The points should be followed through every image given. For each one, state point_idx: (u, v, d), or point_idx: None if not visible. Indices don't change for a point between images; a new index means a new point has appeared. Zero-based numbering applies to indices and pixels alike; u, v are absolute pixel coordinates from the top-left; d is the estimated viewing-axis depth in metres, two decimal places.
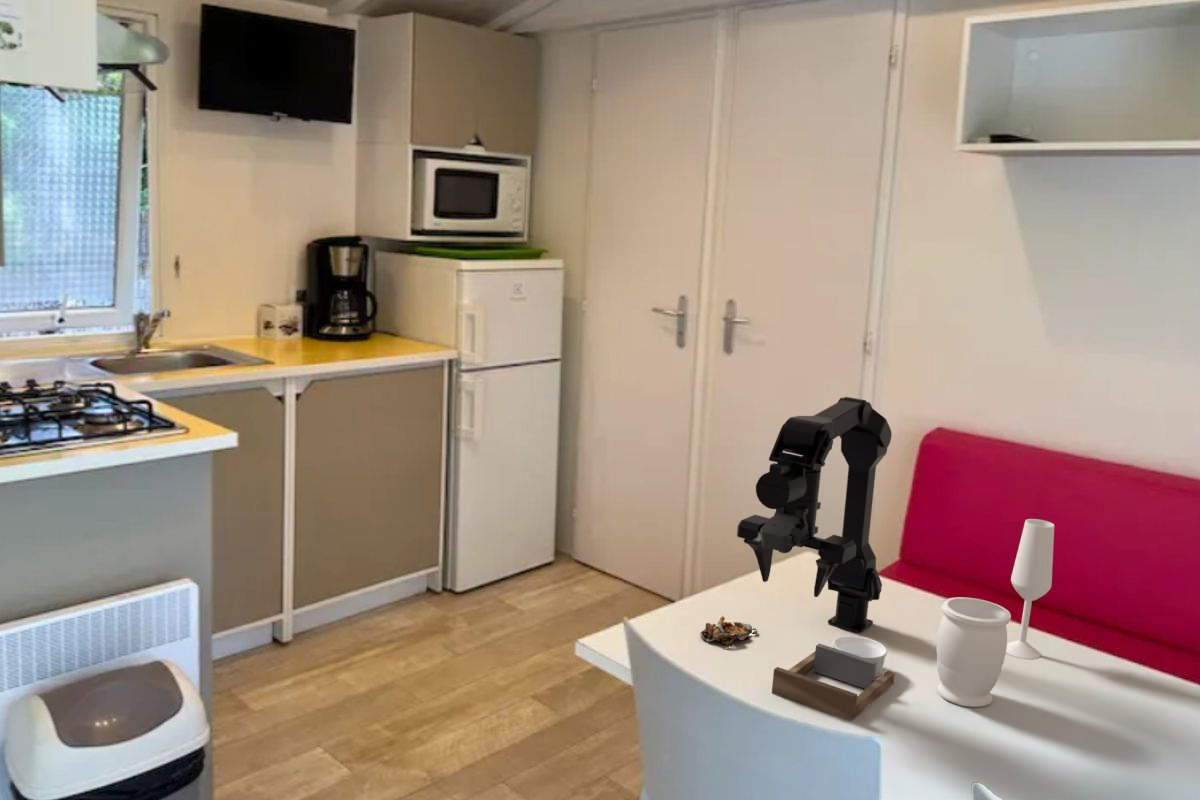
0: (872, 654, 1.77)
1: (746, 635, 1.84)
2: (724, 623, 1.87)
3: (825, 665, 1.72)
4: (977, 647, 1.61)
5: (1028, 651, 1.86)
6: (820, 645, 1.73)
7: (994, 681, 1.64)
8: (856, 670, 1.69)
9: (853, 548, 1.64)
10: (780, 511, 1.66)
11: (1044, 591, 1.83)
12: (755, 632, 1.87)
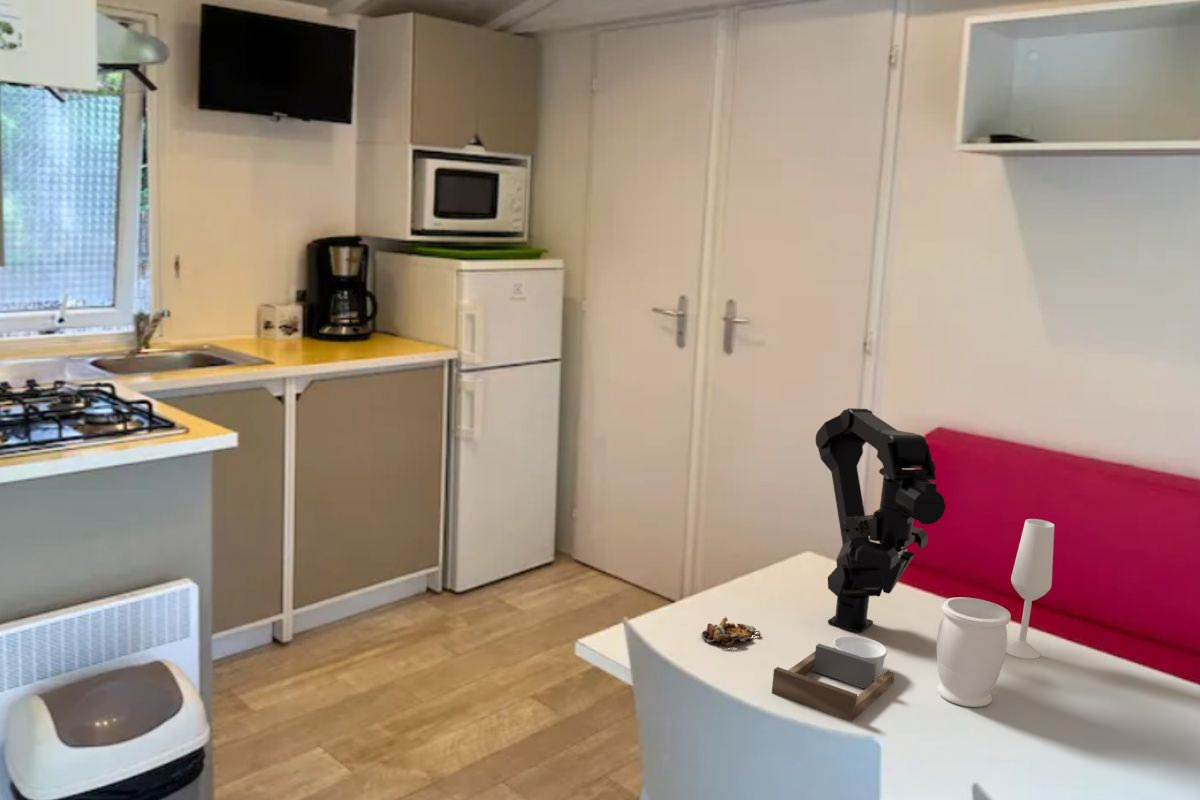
0: (872, 655, 1.77)
1: (748, 637, 1.84)
2: (727, 624, 1.87)
3: (825, 665, 1.72)
4: (977, 647, 1.61)
5: (1028, 651, 1.86)
6: (820, 645, 1.73)
7: (994, 681, 1.64)
8: (856, 670, 1.69)
9: (879, 557, 1.72)
10: None
11: (1044, 591, 1.83)
12: (758, 634, 1.86)
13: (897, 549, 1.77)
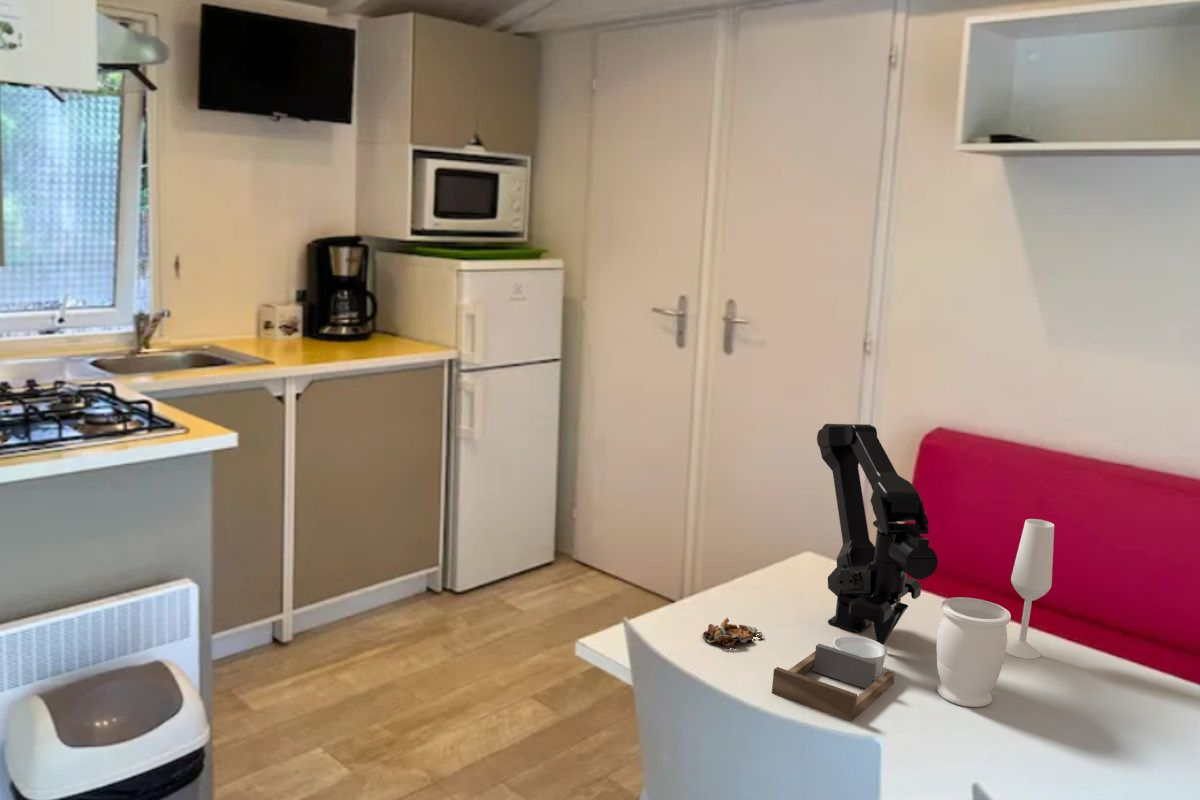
0: (872, 654, 1.77)
1: (749, 638, 1.83)
2: (728, 625, 1.86)
3: (825, 665, 1.72)
4: (977, 647, 1.61)
5: (1028, 651, 1.86)
6: (820, 645, 1.73)
7: (994, 681, 1.64)
8: (856, 670, 1.69)
9: (873, 612, 1.74)
10: None
11: (1044, 591, 1.83)
12: (759, 636, 1.86)
13: (890, 602, 1.79)
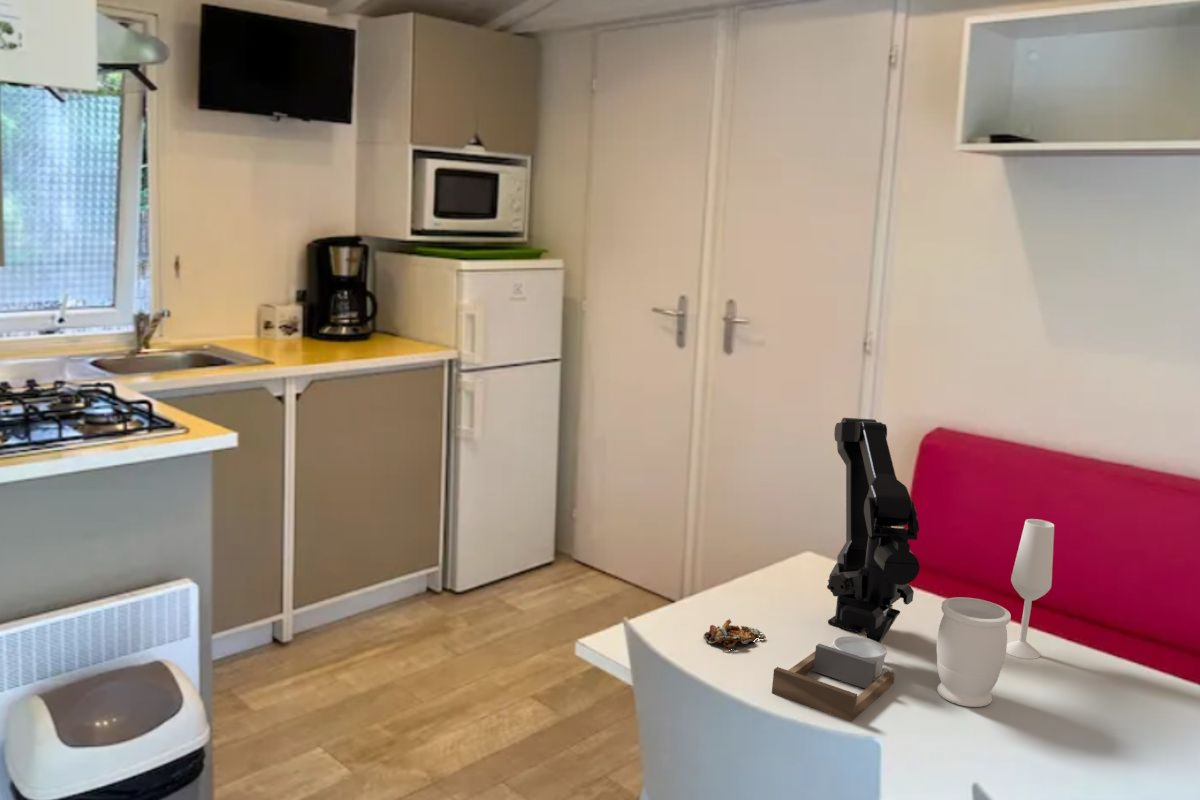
0: (872, 654, 1.77)
1: (750, 639, 1.83)
2: (730, 626, 1.86)
3: (825, 665, 1.72)
4: (977, 647, 1.61)
5: (1028, 651, 1.86)
6: (820, 645, 1.73)
7: (994, 681, 1.64)
8: (856, 670, 1.69)
9: (864, 618, 1.70)
10: None
11: (1044, 591, 1.83)
12: (761, 637, 1.85)
13: (882, 607, 1.76)
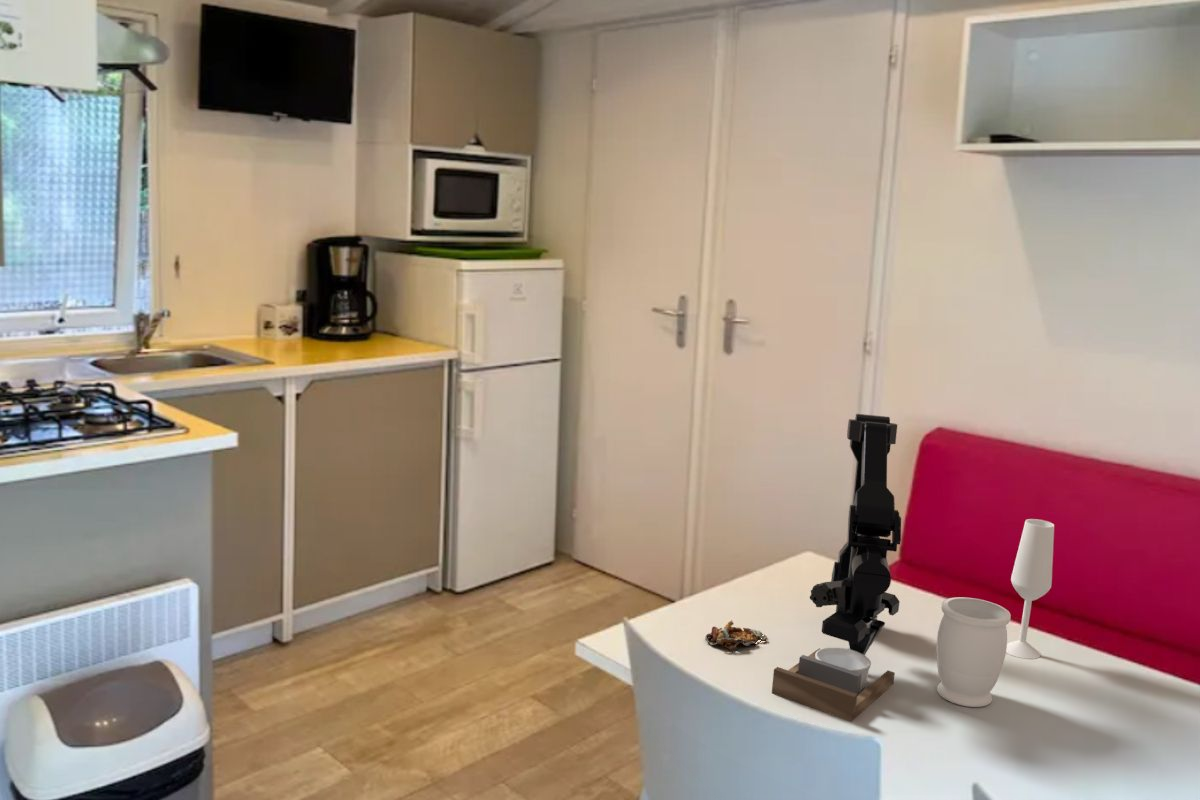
0: (855, 666, 1.72)
1: (752, 641, 1.82)
2: (732, 628, 1.85)
3: (809, 677, 1.67)
4: (977, 647, 1.61)
5: (1028, 651, 1.86)
6: (804, 656, 1.68)
7: (994, 681, 1.64)
8: (840, 682, 1.64)
9: (846, 631, 1.65)
10: None
11: (1044, 591, 1.83)
12: (764, 639, 1.84)
13: (866, 619, 1.71)
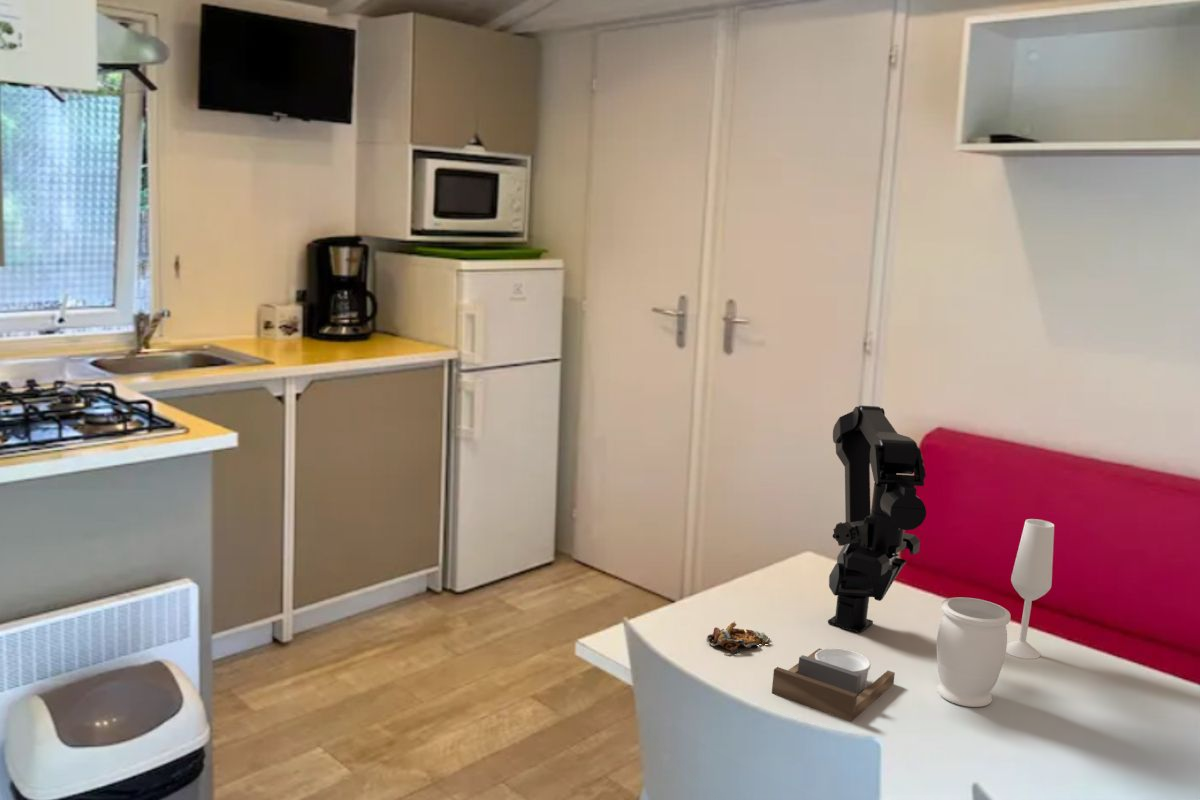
0: (855, 667, 1.72)
1: (754, 643, 1.81)
2: (735, 629, 1.85)
3: None
4: (977, 647, 1.61)
5: (1028, 651, 1.86)
6: (803, 657, 1.68)
7: (994, 681, 1.64)
8: (840, 683, 1.64)
9: (870, 564, 1.69)
10: None
11: (1044, 591, 1.83)
12: (766, 641, 1.83)
13: (888, 556, 1.74)
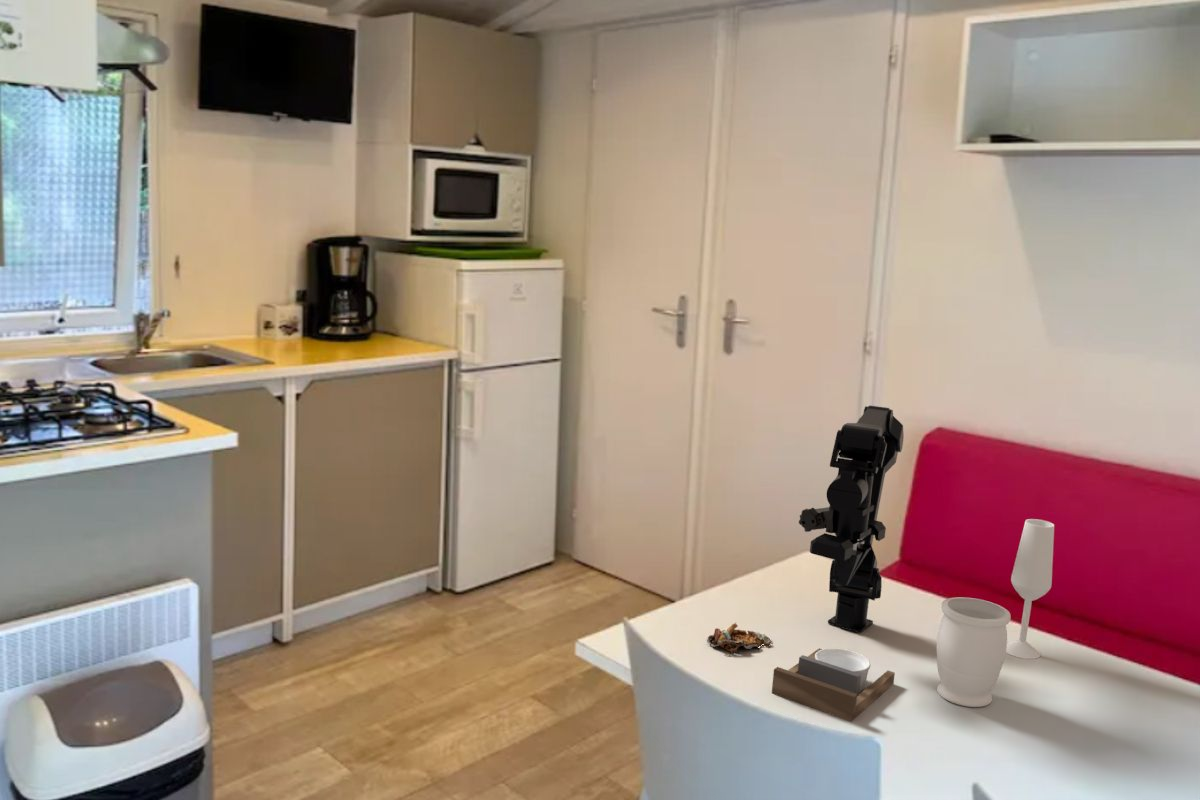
0: (855, 667, 1.72)
1: (754, 644, 1.81)
2: (736, 630, 1.84)
3: None
4: (977, 647, 1.61)
5: (1028, 651, 1.86)
6: (803, 657, 1.68)
7: (994, 681, 1.64)
8: (840, 683, 1.64)
9: (833, 549, 1.71)
10: None
11: (1044, 591, 1.83)
12: (767, 643, 1.83)
13: (853, 541, 1.77)
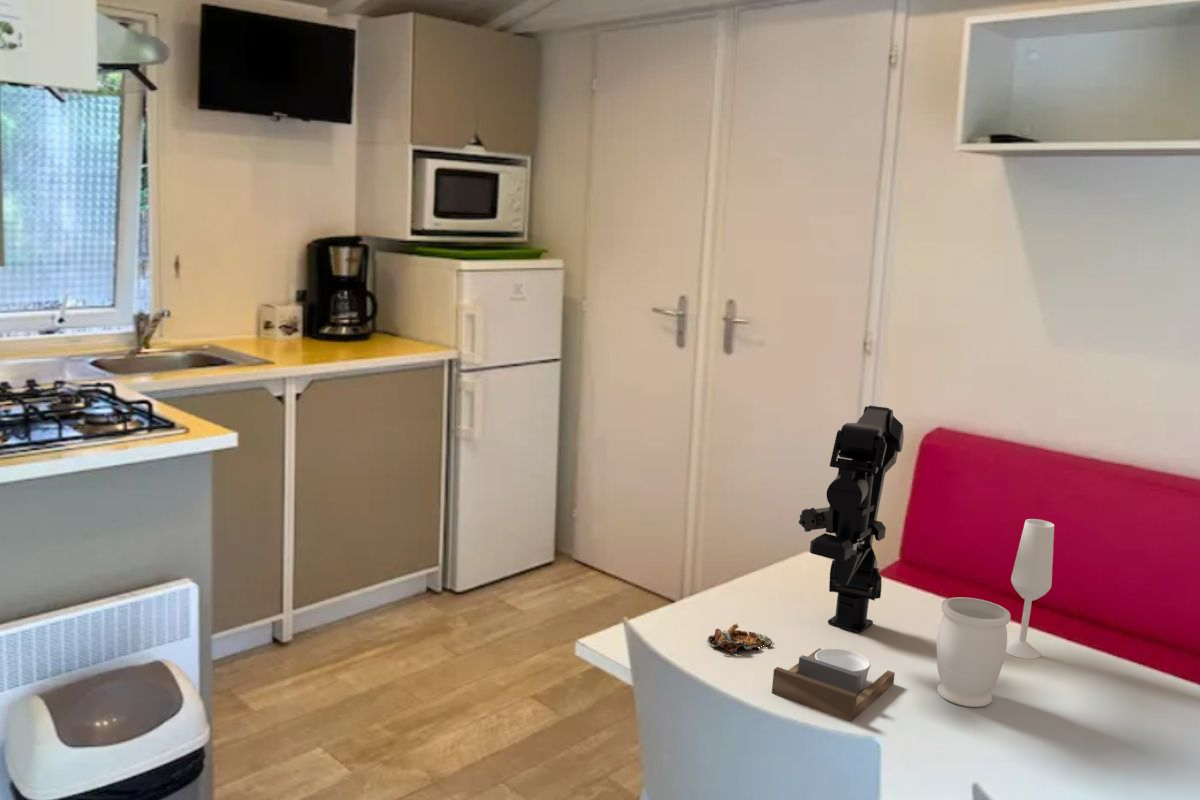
0: (855, 667, 1.72)
1: (754, 645, 1.80)
2: (737, 631, 1.84)
3: None
4: (976, 647, 1.61)
5: (1028, 651, 1.86)
6: (803, 657, 1.68)
7: (994, 681, 1.64)
8: (840, 683, 1.64)
9: (833, 549, 1.71)
10: None
11: (1044, 591, 1.83)
12: (768, 644, 1.82)
13: (853, 541, 1.77)
